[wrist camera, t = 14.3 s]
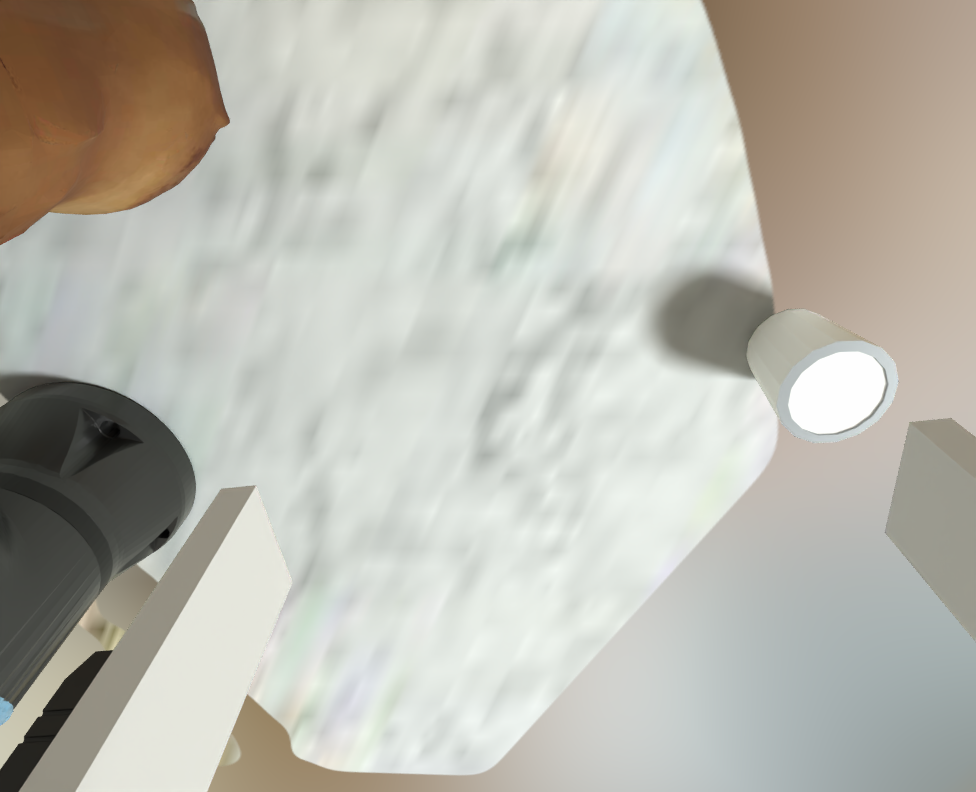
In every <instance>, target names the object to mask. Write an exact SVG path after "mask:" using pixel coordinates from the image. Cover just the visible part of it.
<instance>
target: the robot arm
mask: <svg viewBox="0 0 976 792" xmlns="http://www.w3.org/2000/svg"><path fill="white" fill-rule="evenodd" d="M195 492H196V483H195V476H194V471H193V468H192V465H191V462H190V460H189V458H188V456H187V453H186V452H185V450H184V448H183V447H182V445H181V444H180V442H179V441H178V439H177V438H176V437H175V435H174V434H173V433H172V432H171V431H170V430H169V429H168V428H167V427H166V426H165V425H164V424H163V423H162V422H161V421H160V420H159V419H158V418H157V417H155V416H154V415H153V414H152V413H150V412H149V411H147V410H146V409H145V408H143V407H141V406H140V405H138V404H137V403H135V402H133V401H131V400H129V399H127V398H125V397H123V396H121V395H119V394H116V393H114V392H111V391H108V390H105V389H102V388H99V387H95V386H90V385H85V384H78V383H52V384H45V385H41V386H37V387H34V388H31V389H29V390H27V391H25V392H23V393H21V394H19V395H18V396H16V397H15V398H13V399H12V400H10V401H9V402H7V403H6V404H5V405H3V406H2V407H0V725H2V724H3V723H5V722H6V721H7V720H8V719H9V718H10V716H11V714H12V712H13V709H14V708H15V707H16V705H17V704H18V703H19V701H20V700H21V699H22V697H23V696H24V694H25V693H26V692H27V691H28V689H29V688H30V687H31V685H32V684H33V682H34V681H35V680H36V678H37V677H38V676H39V674H40V673H41V672H42V670H43V669H44V668H45V666H46V665H47V664H48V662H49V661H50V660H51V658H52V657H53V656H54V654H55V653H56V652H57V650H58V649H59V648H60V646H61V645H62V644H63V642H64V641H65V640H66V638H67V637H68V636H69V634H70V633H71V632H72V630H73V629H74V627H75V626H76V625H77V623H78V622H79V621H80V619H81V618H82V617H83V615H84V614H85V613H86V611H87V610H88V609H89V607H90V606H91V605H92V603H93V602H94V601H95V599H96V598H97V596H98V595H99V594H100V592H101V591H102V590H103V589H104V587H105V586H106V585H107V584H108V582H110V581H111V580H113V579H114V578H116V577H117V576H119V575H120V574H122V573H123V572H125V571H126V570H128V569H129V568H131V567H132V566H134V565H135V564H137V563H138V562H140V561H141V560H143V559H144V558H146V557H147V556H149V555H150V554H152V553H153V552H155V551H156V550H158V549H159V548H161V547H162V546H163V545H165V544H166V543H167V542H168V541H169V540H170V539H171V538H172V537H173V535H174V534H175V533H176V532H177V530H178V529H179V527H180V526H181V525H182V523H183V522H184V520H185V519H186V517H187V516H188V514H189V513H190V511H191V509H192V506H193V503H194V499H195ZM885 533H886V534H887V536H888V537H889V538H890V539H891V540H892V542H893V543H894V544H895V545H896V546H897V548H898V549H899V550H900V551H901V553H902V554H903V555H904V556H905V557H906V559H907V560H908V561H909V562H910V563H911V565H912V566H913V567H914V568H915V569H916V570H917V572H918V573H919V574H920V575H921V576H922V578H923V579H924V580H925V581H926V583H927V584H928V585H929V586H930V587H931V589H932V590H933V591H934V592H935V593H936V595H937V596H938V597H939V598H940V600H941V601H942V602H943V603H944V604H945V606H946V607H947V608H948V609H949V610H950V612H951V613H952V614H953V615H954V616H955V618H956V619H957V620H958V621H959V622H960V623H961V625H962V626H963V627H964V628H965V630H966V631H967V632H968V633H969V634H970V636H971V637H972V638H973V639H974V640H975V642H976V437H975V436H974V435H972V434H971V433H970V432H968V431H967V430H966V429H964V428H963V427H962V426H961V425H959V424H958V423H957V422H955V421H954V420H953V419H952V418H948V419H938V420H927V421H918V422H910V423H909V427H908V432H907V436H906V440H905V445H904V450H903V454H902V458H901V462H900V467H899V471H898V476H897V480H896V485H895V489H894V494H893V498H892V502H891V507H890V511H889V516H888V520H887V525H886V529H885ZM291 585H292V579H291V576H290V574H289V571H288V568H287V566H286V563H285V560H284V558H283V555H282V553H281V550H280V547H279V545H278V542H277V539H276V537H275V534H274V531H273V529H272V526H271V523H270V521H269V518H268V515H267V513H266V510H265V508H264V505H263V502H262V500H261V497H260V494H259V492H258V489H257V486H246V487H235V488H225V489H221V490H220V491H219V493H218V494H217V496H216V497H215V499H214V500H213V502H212V503H211V505H210V506H209V508H208V509H207V511H206V512H205V514H204V515H203V517H202V518H201V520H200V521H199V523H198V524H197V526H196V527H195V529H194V530H193V532H192V533H191V535H190V536H189V538H188V539H187V541H186V542H185V544H184V545H183V547H182V548H181V550H180V551H179V553H178V554H177V556H176V557H175V559H174V560H173V562H172V563H171V565H170V566H169V568H168V569H167V571H166V572H165V574H164V575H163V577H162V578H161V580H160V581H159V583H158V584H157V586H156V587H155V589H154V590H153V592H152V593H151V595H150V596H149V598H148V599H147V601H146V602H145V604H144V605H143V607H142V608H141V610H140V611H139V613H138V614H137V616H136V617H135V619H134V620H133V622H132V623H131V625H130V626H129V628H128V629H127V631H126V632H125V634H124V635H123V637H122V638H121V639H120V641H119V642H118V644H117V645H116V647H115V648H114V650H110V651H98V652H95V653H94V654H92V655H91V656H90V657H89V658H88V659H87V660H86V661H85V662H84V663H83V664H82V665H80V666H79V667H78V668H77V669H76V670H75V671H74V672H73V673H71V674H70V675H69V676H68V677H67V678H66V679H65V680H64V682H63V683H62V684H61V686H60V687H59V689H58V690H57V691H56V693H55V694H54V696H53V697H52V698H51V700H50V701H49V702H48V704H47V705H46V707H45V708H44V709H43V715H42V716H41V717H38V718H37V719H36V721H35V722H34V723H33V725H32V726H31V728H30V729H29V730H28V732H27V733H26V735H25V736H24V742H23V743H21V744H18V746H17V747H16V748H15V750H14V751H13V753H12V754H11V755H10V757H9V758H8V760H7V761H6V763H5V764H4V765H3V767H2V768H1V769H0V792H207V791H208V788H209V786H210V783H211V781H212V778H213V776H214V773H215V771H216V768H217V766H218V764H219V761H220V759H221V756H222V754H223V751H224V749H225V747H226V744H227V742H228V739H229V737H230V734H231V732H232V729H233V727H234V725H235V722H236V720H237V717H238V715H239V712H240V710H241V707H242V705H243V702H244V700H245V697H246V695H247V693H248V690H249V688H250V685H251V683H252V680H253V678H254V675H255V673H256V671H257V668H258V666H259V663H260V661H261V658H262V656H263V653H264V651H265V648H266V646H267V644H268V641H269V639H270V636H271V634H272V631H273V629H274V626H275V624H276V621H277V619H278V617H279V614H280V612H281V609H282V607H283V604H284V602H285V599H286V597H287V594H288V592H289V590H290V587H291Z"/></svg>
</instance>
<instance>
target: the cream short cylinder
mask: <svg viewBox="0 0 976 792" xmlns="http://www.w3.org/2000/svg"><path fill="white" fill-rule="evenodd" d="M746 357H747V360H748V364H749V367H750V370H751V371H752V373H753V375H754V377H755V378H756V380H757V382H758V384H759V385H760V387H761V389H762V391H763V392H764V394H765V396H766V398H767V399H768V401H769V403H770V405H771V406H772V408H773V410H774V411H775V413H776V415H777V417H778V418H779V420H780V422H781V424H782V425H783V426H784V427H785V428H786V429H788V430H789V431H790V432H791V433H792V434H793V435H794V436H795V437H798V438H801V439H804V440H806V441H810V442H812V443H826V442H838V441H841V440H844V439H846V438H849V437H852V436H855V435H858V434H860V433H861V432H863V431H864V430H866V429H867V428H868V427H870V426H871V425H873V424H874V423H876V422H877V421H878V420H879V419H880V418H881V417H882V415H883V414H884V413H885V411H886V410H887V409H888V407H889V406H890V405H891V403H892V402H893V399H894V396H895V392H896V389H897V386H898V382H899V381H898V375H897V371H896V365H895V362H894V361H893V360H892V359H891V357H890V356H889V355H888V354H887V353H886V352H885V351H884V349H883V348H881V347H879V346H878V345H876V344H874V343H872V342H870V341H868V340H866V339H864V338H862V337H861V336H859V335H857V334H855V333H853V332H851V331H849V330H847V329H845V328H844V327H842V326H840V325H838V324H836V323H834V322H832V321H830V320H829V319H827V318H825V317H823V316H821V315H819V314H817V313H814V312H812V311H809V310H806V309H787V310H785V311H782V312H780V313H777V314H774V315H772V316H770V317H769V318H768V319H766V320H765V321H764V322H763V323H762V324H760V325H759V326H758V327H757V328H756V330H755V332H754V333H753V335H752V337H751V338H750V340H749V342H748V348H747V354H746Z"/></svg>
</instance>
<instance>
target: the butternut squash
mask: <svg viewBox="0 0 976 792" xmlns="http://www.w3.org/2000/svg"><path fill="white" fill-rule="evenodd" d="M229 123H230V120H229V117H228V115H227V112H226V110H225V107H224V103H223V99H222V95H221V91H220V87H219V82H218V77H217V72H216V68H215V64H214V60H213V56H212V52H211V49H210V45H209V41H208V37H207V34H206V31H205V27H204V25H203V23H202V22H201V20H200V18H199V16H198V14H197V11H196V7H195V4H194V2H193V1H192V0H0V245H1V244H3V243H5V242H7V241H9V240H11V239H13V238H14V237H16V236H18V235H20V234H22V233H24V232H25V231H26V230H27V229H28V228H29V227H30V226H32V225H33V224H34V223H35V222H37V221H38V220H39V219H40V218H42V217H43V216H44V215H46V214H47V213H48V212H54V213H65V214H82V215H90V214H107V213H113V212H118V211H123V210H128V209H132V208H135V207H137V206H139V205H142V204H144V203H146V202H149V201H151V200H152V199H154V198H155V197H157V196H159V195H161V194H162V193H164V192H166V191H168V190H170V189H172V188H173V187H175V186H176V185H178V184H179V183H180V182H181V181H182V180H183V179H184V178H185V177H186V176H187V175H188V174H189V173H190V172H191V171H192V170H193V169H194V168H195V167H196V166H197V165H198V164H199V162H200V161H201V160H202V158H203V157H204V155H205V154H206V152H207V151H208V149H209V147H210V145H211V144H212V142H213V141H214V140H215V134H216V133H217V131H218V130H219V129H220V128H223V127H225V126H227V125H228V124H229Z"/></svg>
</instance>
